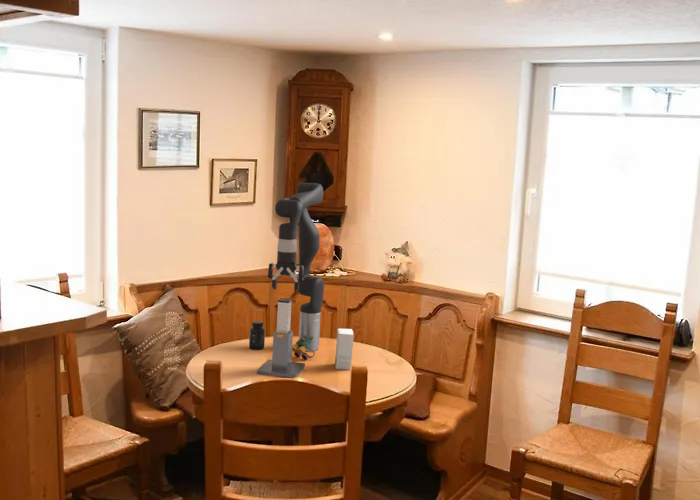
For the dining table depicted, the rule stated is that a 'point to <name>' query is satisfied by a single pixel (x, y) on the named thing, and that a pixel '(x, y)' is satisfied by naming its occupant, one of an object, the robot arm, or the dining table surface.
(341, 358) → the skincare box
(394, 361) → the dining table surface
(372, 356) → the dining table surface
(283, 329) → the column
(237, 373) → the dining table surface
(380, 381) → the dining table surface
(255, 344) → the supplement bottle
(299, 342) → the binoculars
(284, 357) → the stand
